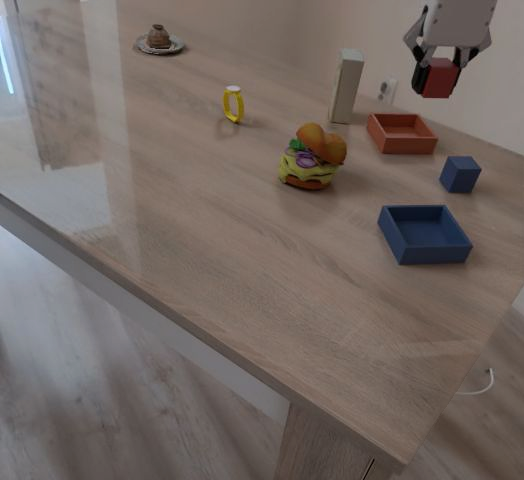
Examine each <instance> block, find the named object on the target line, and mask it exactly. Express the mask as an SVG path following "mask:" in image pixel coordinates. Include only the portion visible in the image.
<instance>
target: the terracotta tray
mask: <svg viewBox="0 0 524 480" xmlns="http://www.w3.org/2000/svg"><path fill="white" fill-rule="evenodd" d="M366 123H367V124H366V130H367V131H368V133H369V134H370V136H371V138H372V140H373V141H374V143H375V144H376V146H377V148H378V149H379V151H380V153H381V154H422V155H423V154H428V155H429V154H431V155H432V154H434V151H435V149H436V146H437V144H438V141H439V137H438V136H437V135H436V133H435V132H434V131H433V130H432V128H431V127H430V126H429V124H428V123H427V122H426V121H425V119H424V118H423V117H422V116H421V114H420V113H412V112H411V113H408V112H406V113H405V112H370V113H369V115H368V119H367V122H366Z"/></svg>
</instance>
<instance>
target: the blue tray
mask: <svg viewBox="0 0 524 480" xmlns="http://www.w3.org/2000/svg"><path fill="white" fill-rule="evenodd" d="M377 224H378V226H379V228H380V230H381V233H382V235H383V236H384V238H385V241H386V242H387V244H388V246H389V249H390V250H391V252H392V254H393V257H394V258H395V259H396V262H397V264H398V266H399V265H400V266H401V265H427V264H429V265H431V264H432V265H433V264H459V263H463V264H464V263H466V261H467V259H469V255H470V254H471V252H472V250H473V248H474V244H473V243H472V242H471V240H470V239H469V237H468V236H467V235H466V232H465V231H464V230H463V228H462V227H461V226H460V224H459V223H458V221H457V219H455V217H454V215H453V214H452V212H451V211H450V209H449V208H448V206H447V205H446V204H393V205H391V204H389V205H388V204H387V205H386V204H385V205H382V206H381V209H380V211H379V215H378V219H377Z"/></svg>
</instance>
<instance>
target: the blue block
mask: <svg viewBox="0 0 524 480" xmlns="http://www.w3.org/2000/svg"><path fill="white" fill-rule="evenodd" d="M482 171H483V169H482V167H481V166H480V165H479V163H477V161H476V160H475V158H474V157H472V156H471V155H448V156H447V158H446V161H445V163H444V165H443V167H442V170H441V173H440V176H439V178H438V180H439V181H440V183H441V184H442V186H443V187H444V188H445V190H446V192H448V193H449V194H450V193H455V194H456V193H472V192H473V190H474V187H475V185H476V183H477V181H478V179H479V177H480V175H481V173H482Z"/></svg>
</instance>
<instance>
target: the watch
mask: <svg viewBox="0 0 524 480" xmlns="http://www.w3.org/2000/svg"><path fill="white" fill-rule="evenodd" d="M230 95H233V96H234V98H235V102H236V105H237V108H236V109H237V113H236V116H234V115H233V112H232V110H231V105H230ZM222 108H223V112H224V114H225V117H226V118H227V119H229V120H230V121H232V122H233V123H238V122H241V121H242V120H243V118H244V114H245V103H244V99H243V96H242V94H241V87H240V86H237V85H228V86H226V87H225V90H224V92H223V95H222Z"/></svg>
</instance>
